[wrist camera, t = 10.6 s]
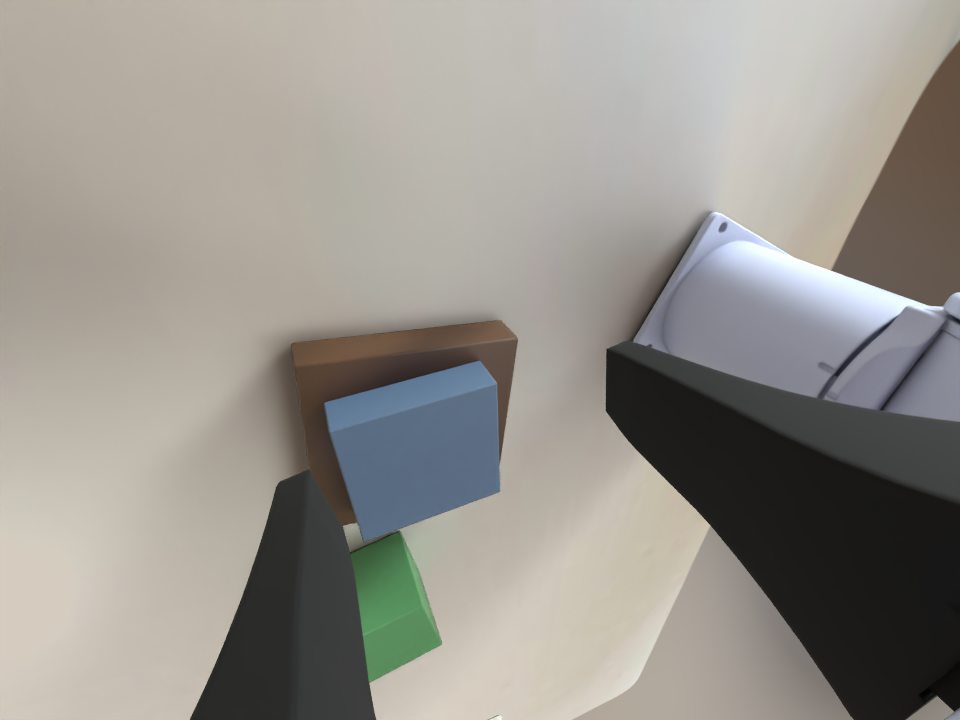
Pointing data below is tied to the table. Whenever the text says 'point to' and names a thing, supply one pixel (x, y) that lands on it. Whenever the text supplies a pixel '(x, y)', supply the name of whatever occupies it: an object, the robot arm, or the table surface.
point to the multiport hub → (497, 718)
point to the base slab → (388, 381)
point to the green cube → (392, 606)
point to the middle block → (417, 447)
